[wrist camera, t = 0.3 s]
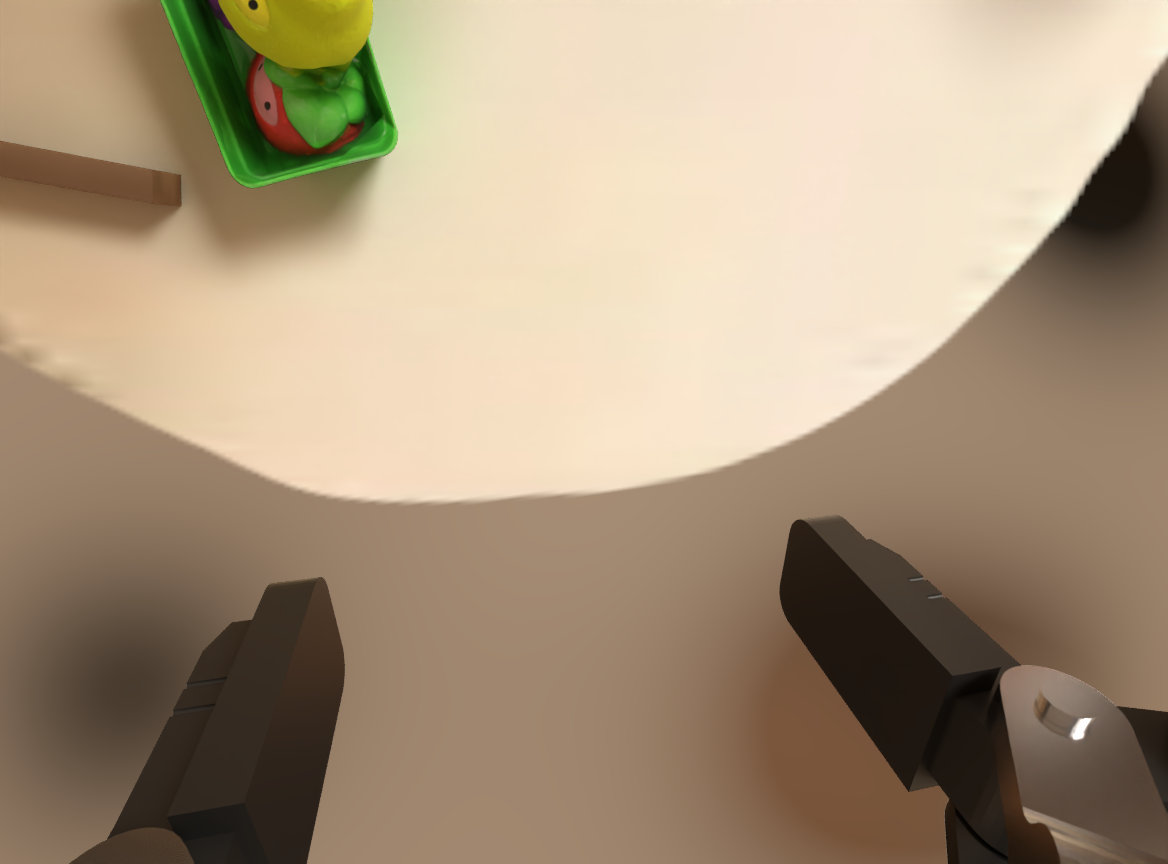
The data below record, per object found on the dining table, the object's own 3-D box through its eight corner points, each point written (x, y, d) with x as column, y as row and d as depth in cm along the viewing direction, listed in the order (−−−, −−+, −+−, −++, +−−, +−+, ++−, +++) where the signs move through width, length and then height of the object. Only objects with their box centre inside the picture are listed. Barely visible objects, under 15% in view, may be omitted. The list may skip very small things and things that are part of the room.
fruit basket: (178, -60, 27) (-41, -252, 16) (366, -104, 27) (271, -322, 16) (279, 199, 31) (156, 180, 20) (443, 158, 31) (406, 118, 20)
